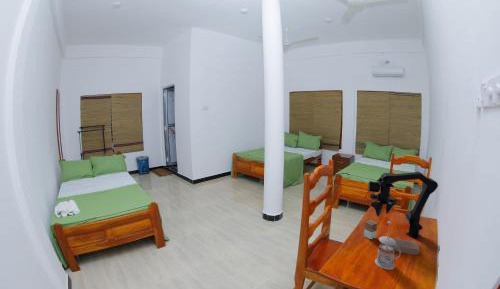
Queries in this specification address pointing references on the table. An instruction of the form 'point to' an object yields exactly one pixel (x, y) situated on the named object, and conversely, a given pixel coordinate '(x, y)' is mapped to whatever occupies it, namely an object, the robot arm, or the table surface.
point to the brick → (406, 246)
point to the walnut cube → (371, 226)
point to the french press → (386, 246)
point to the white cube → (369, 234)
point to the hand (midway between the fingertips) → (382, 214)
